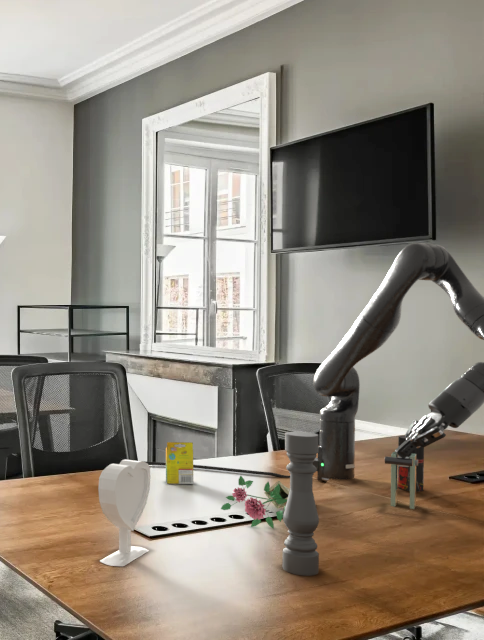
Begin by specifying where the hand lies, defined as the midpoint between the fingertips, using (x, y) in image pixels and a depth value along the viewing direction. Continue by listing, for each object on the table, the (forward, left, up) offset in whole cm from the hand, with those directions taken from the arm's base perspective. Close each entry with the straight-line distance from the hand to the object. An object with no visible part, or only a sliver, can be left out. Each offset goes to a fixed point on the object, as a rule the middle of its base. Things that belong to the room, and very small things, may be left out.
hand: (398, 455), depth 167 cm
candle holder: (-12, -45, -16) cm, 49 cm away
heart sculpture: (-42, -56, -16) cm, 72 cm away
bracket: (0, +13, -15) cm, 20 cm away
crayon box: (-55, +11, -16) cm, 58 cm away
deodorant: (0, +34, -16) cm, 37 cm away
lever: (0, +7, -4) cm, 8 cm away
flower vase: (-23, -14, -16) cm, 31 cm away
